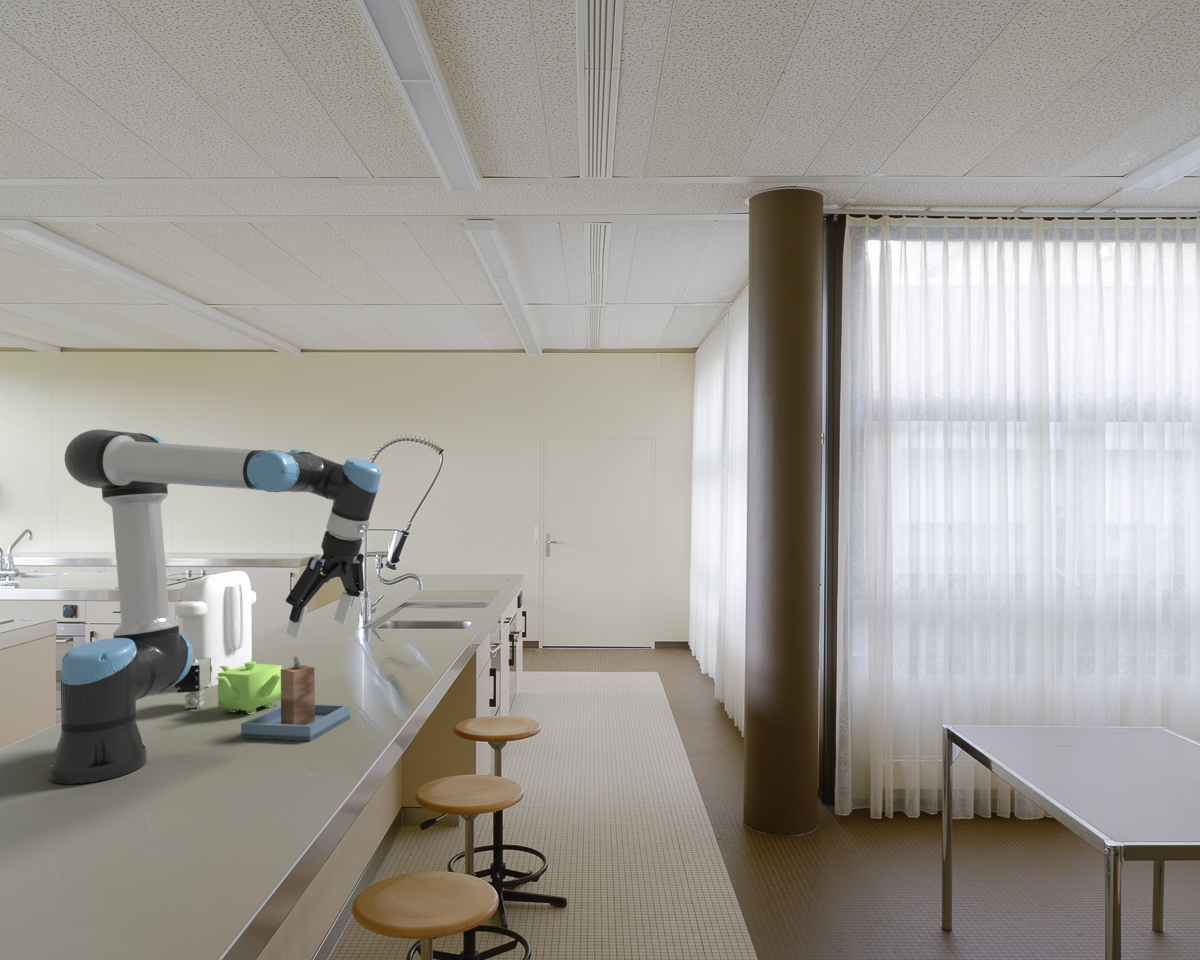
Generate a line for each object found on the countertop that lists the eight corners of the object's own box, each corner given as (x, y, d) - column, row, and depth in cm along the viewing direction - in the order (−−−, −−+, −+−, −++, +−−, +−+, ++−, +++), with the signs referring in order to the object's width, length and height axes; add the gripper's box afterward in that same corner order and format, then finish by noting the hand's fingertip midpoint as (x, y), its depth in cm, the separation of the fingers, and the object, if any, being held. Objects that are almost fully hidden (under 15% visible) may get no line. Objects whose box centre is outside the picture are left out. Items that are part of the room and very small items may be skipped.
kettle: (215, 721, 168) (215, 672, 168) (215, 707, 180) (214, 660, 180) (286, 711, 175) (286, 663, 175) (281, 697, 187) (280, 653, 187)
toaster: (208, 692, 193) (207, 578, 194) (170, 691, 195) (169, 578, 196) (270, 668, 220) (269, 568, 221) (236, 668, 222) (235, 568, 223)
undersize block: (293, 728, 158) (293, 660, 159) (281, 724, 161) (280, 657, 162) (314, 722, 162) (314, 656, 163) (302, 718, 165) (301, 653, 166)
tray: (310, 741, 152) (310, 726, 152) (241, 738, 155) (241, 723, 155) (350, 718, 168) (350, 705, 168) (286, 715, 171) (286, 702, 171)
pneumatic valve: (212, 699, 186) (212, 652, 187) (197, 712, 175) (196, 662, 175) (189, 701, 185) (188, 653, 186) (171, 714, 174) (171, 663, 174)
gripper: (314, 547, 138) (284, 649, 141) (396, 535, 161) (370, 623, 164) (284, 532, 140) (256, 633, 143) (370, 523, 164) (344, 610, 167)
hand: (317, 628), depth 154 cm, fingers open, 13 cm apart
